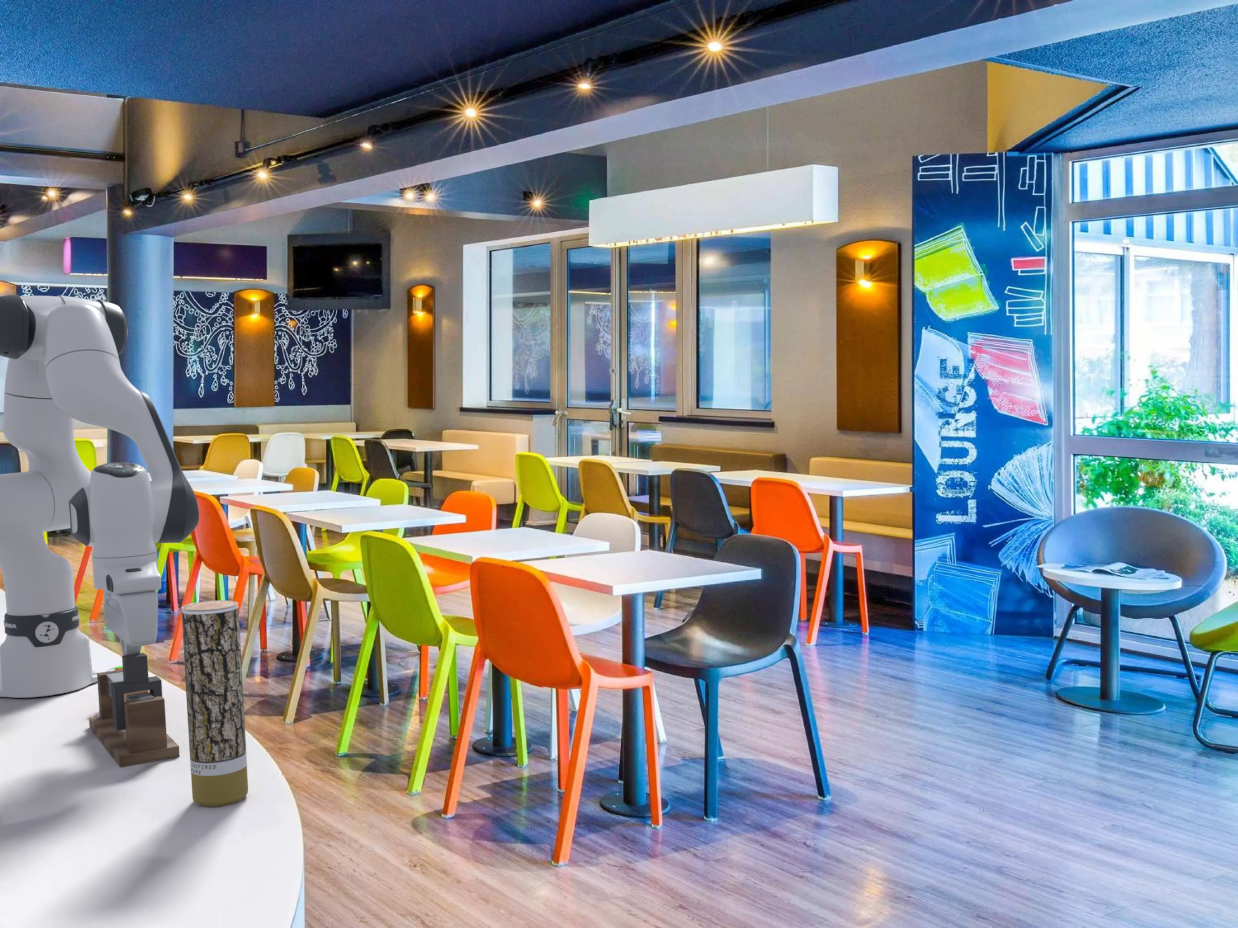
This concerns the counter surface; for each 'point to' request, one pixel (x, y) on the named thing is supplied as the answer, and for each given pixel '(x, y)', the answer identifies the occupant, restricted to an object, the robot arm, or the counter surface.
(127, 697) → the grey metal bar
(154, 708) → the base
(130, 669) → the grey clamp
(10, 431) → the robot arm
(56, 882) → the counter surface
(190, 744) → the paper tube
